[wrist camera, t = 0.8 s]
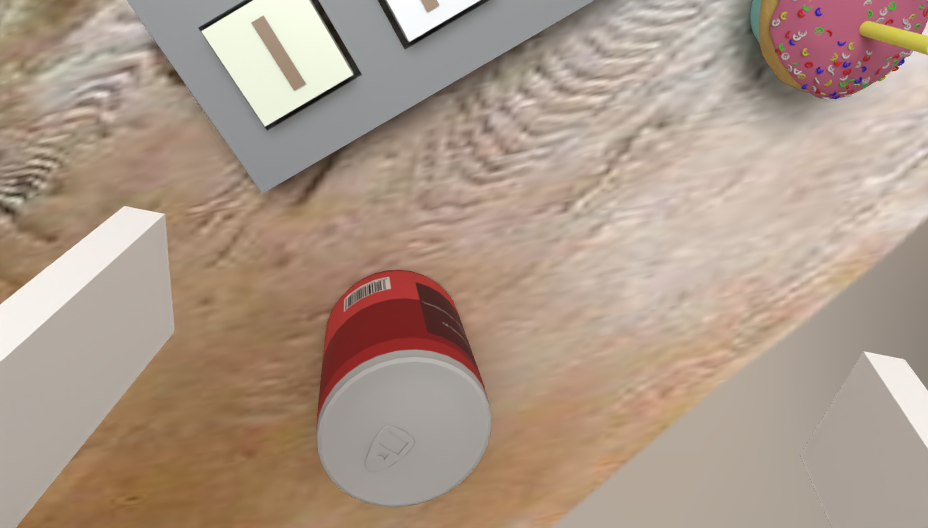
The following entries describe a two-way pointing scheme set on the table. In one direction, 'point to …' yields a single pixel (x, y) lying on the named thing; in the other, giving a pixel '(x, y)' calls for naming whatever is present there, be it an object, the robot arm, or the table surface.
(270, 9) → the tile
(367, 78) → the keypad
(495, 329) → the table surface
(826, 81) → the cupcake
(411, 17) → the tile
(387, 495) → the canned food
